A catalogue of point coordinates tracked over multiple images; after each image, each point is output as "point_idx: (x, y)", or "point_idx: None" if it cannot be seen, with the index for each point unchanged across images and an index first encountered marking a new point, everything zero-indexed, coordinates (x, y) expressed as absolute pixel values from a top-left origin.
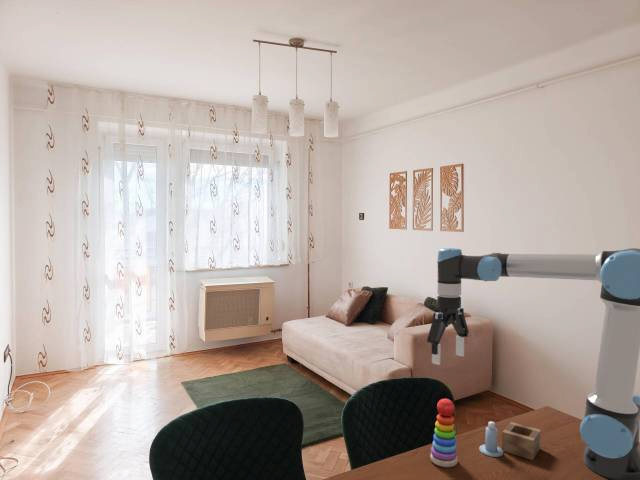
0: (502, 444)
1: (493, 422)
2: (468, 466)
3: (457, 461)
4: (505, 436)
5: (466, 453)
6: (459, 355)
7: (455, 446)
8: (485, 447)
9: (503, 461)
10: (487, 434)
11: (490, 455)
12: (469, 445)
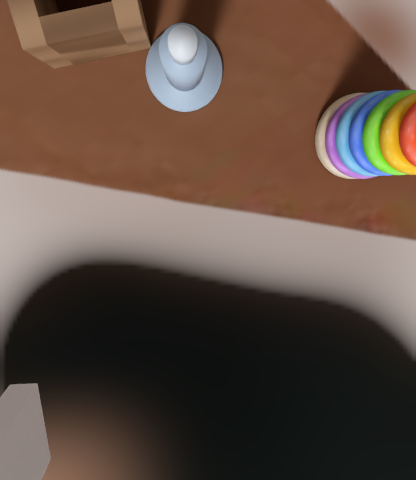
0: (148, 39)
1: (173, 38)
2: (325, 68)
3: (346, 95)
4: (141, 15)
5: (259, 118)
6: (42, 422)
7: (376, 92)
8: (198, 83)
9: (213, 3)
10: (205, 61)
11: (218, 52)
12: (206, 142)
